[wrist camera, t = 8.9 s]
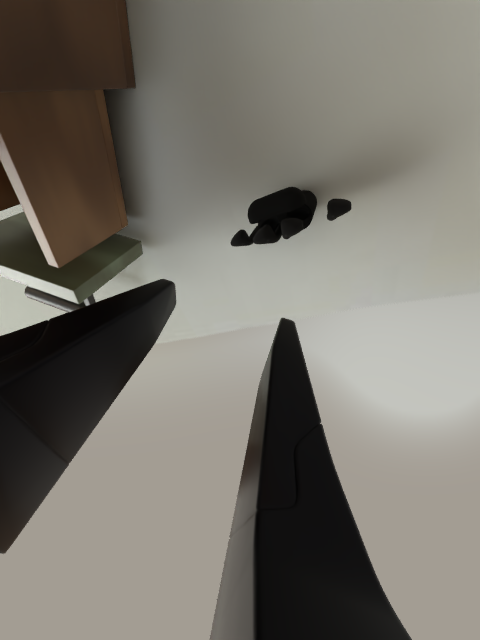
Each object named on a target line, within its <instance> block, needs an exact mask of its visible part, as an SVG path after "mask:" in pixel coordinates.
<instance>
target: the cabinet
mask: <svg viewBox="0 0 480 640" xmlns="http://www.w3.org/2000/svg"><path fill="white" fill-rule="evenodd" d="M129 88H135V78H134V70H133V61H132V53H131V44H130V36H129V27H128V19H127V10H126V2H125V0H0V92H31V91H65V90H98V89H129Z"/></svg>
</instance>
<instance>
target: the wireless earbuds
mask: <svg viewBox="0 0 480 640" xmlns="http://www.w3.org/2000/svg"><path fill="white" fill-rule="evenodd" d="M316 206H317V199H316V197H315V195H314V194H313V193H312V192H310V191H307V190H303V191H301V190H300V189H298V188H296V187H288V188H285V189H282V190H280V191H277V192H275V193H272V194H270V195H267V196H265V197H262V198H259V199H257V200H255V201H254V202H253V203H252V204H251V205H250V207H249V209H248V219H249V222H250V224H255V223H258V225H257V226H256V228H255V229H254V231H253V232H252V233H251V235H250V236H248V234H247V233H246V231H245V230H240V231H238V232H237V233H236V234H235V235H234V237H233V238H232V240H231V245H232V246H247V245H251V244H253V243H255V244H267V243H275V242H277V241H278V240H279V239H280V238H281V236H283V238H284V239H289V238H290V237H291V236H293V235H295V234H297V233H299V232H300V231H302V230H303V229H305V228H307V227H308V226H309V225H310V223H311V221H312V218H313V215H314V212H315V209H316ZM327 210H328V214H327V219H328V220H330V221H332V220H334V219H336V218H337V217H339V216H341V215H343V214H345V213H347V212H348V211H350V210H351V202H350V201H348V200H345V199H332V200H330V201H329V202H328V205H327Z"/></svg>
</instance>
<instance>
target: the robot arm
mask: <svg viewBox="0 0 480 640" xmlns="http://www.w3.org/2000/svg"><path fill="white" fill-rule="evenodd" d="M175 305H176V290H175V284H174V282H172V281H169V280H166V279H160V280H157V281H154V282H151V283H149V284H146V285H143V286H140V287H137V288H135V289H132V290H129V291H126V292H124V293H121V294H118V295H115V296H113V297H110V298H107V299H104V300H101V301H99V302H96V303H93V304H90V305H88V306H85V307H82V308H79V309H76V310H74V311H71V312H68V313H65V314H63V315H60V316H57V317H54V318H52V319H50V320H49V321H48V320H46V321H43V322H40V323H38V324H35V325H32V326H29V327H26V328H23V329H20V330H17V331H14V332H12V333H9V334H5V335H2V336H0V553H6V551H7V550H8V549H9V548H10V546H11V545H12V544H13V542H14V541H15V539H16V538H17V537H18V535H19V534H20V532H21V531H22V529H23V528H24V527H25V525H26V524H27V523H28V521H29V520H30V518H31V517H32V515H33V514H34V513H35V511H36V510H37V509H38V507H39V506H40V504H41V503H42V502H43V500H44V499H45V497H46V496H47V495H48V493H49V492H50V490H51V489H52V487H53V486H54V485H55V483H56V482H57V481H58V479H59V478H60V476H61V475H62V474H63V472H64V471H65V469H66V468H67V467H68V465H69V463H70V462H71V461H72V459H73V458H74V456H75V455H76V454H77V452H78V451H79V449H80V448H81V447H82V445H83V444H84V442H85V441H86V439H87V438H88V437H89V435H90V434H91V433H92V431H93V430H94V428H95V427H96V425H97V424H98V423H99V421H100V420H101V418H102V417H103V416H104V414H105V413H106V411H107V410H108V409H109V407H110V406H111V404H112V403H113V402H114V400H115V399H116V397H117V396H118V395H119V393H120V392H121V390H122V389H123V388H124V386H125V385H126V383H127V382H128V380H129V379H130V378H131V376H132V375H133V374H134V372H135V371H136V369H137V368H138V366H139V365H140V364H141V362H142V361H143V360H144V358H145V357H146V355H147V354H148V352H149V351H150V350H151V348H152V347H153V345H154V344H155V342H156V340H157V339H158V337H159V335H160V333H161V331H162V330H163V328H164V326H165V324H166V322H167V321H168V319H169V317H170V315H171V313H172V311H173V310H174V308H175ZM320 423H321V419H320V415H319V412H318V408H317V404H316V400H315V397H314V393H313V389H312V385H311V382H310V378H309V374H308V370H307V367H306V363H305V359H304V356H303V352H302V348H301V344H300V341H299V337H298V333H297V330H296V326H295V323H294V321H292V320H289V319H286V318H281V320H280V322H279V325H278V328H277V331H276V334H275V337H274V340H273V343H272V346H271V349H270V352H269V355H268V358H267V361H266V364H265V367H264V370H263V373H262V377H261V380H260V384H259V388H258V393H257V398H256V404H255V409H254V414H253V419H252V424H251V429H250V434H249V440H248V445H247V450H246V455H245V460H244V465H243V470H242V476H241V481H240V486H239V491H238V496H237V501H236V506H235V512H234V517H233V522H232V528H231V532H230V539H229V542H228V548H227V553H226V558H225V563H224V568H223V573H222V578H221V584H220V589H219V594H218V599H217V605H216V609H215V615H214V620H213V625H212V630H211V635H210V640H412V639H411V637H410V636H409V634H408V633H407V631H406V630H405V628H404V627H403V625H402V623H401V622H400V620H399V618H398V617H397V615H396V613H395V611H394V610H393V608H392V606H391V604H390V602H389V601H388V599H387V597H386V595H385V593H384V591H383V589H382V587H381V585H380V582H379V580H378V578H377V576H376V574H375V571H374V569H373V566H372V564H371V561H370V559H369V556H368V554H367V551H366V548H365V546H364V543H363V541H362V538H361V536H360V533H359V530H358V528H357V525H356V523H355V520H354V517H353V515H352V512H351V509H350V507H349V504H348V502H347V499H346V496H345V494H344V491H343V489H342V486H341V483H340V480H339V477H338V475H337V472H336V469H335V466H334V464H333V460H332V457H331V454H330V451H329V447H328V444H327V440H326V437H325V433H324V429H323V426H322V424H320Z"/></svg>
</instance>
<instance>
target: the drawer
mask: <svg viewBox="0 0 480 640" xmlns="http://www.w3.org/2000/svg"><path fill="white" fill-rule="evenodd" d="M19 204H21V206H22V208H23V210H24V212H22V213H19V214H17V215H14V216H11V217H9V218H6V219H4V220H1V221H0V276H2V277H4V278H7V279H10V280H13V281H16V282H18V283H21V284H24V285H27V287H26V289H25V295H26V296H27V297H28V298H31V299H33V300H36V301H39V302H42V303H44V304H47V305H50V306H52V307H55V308H58V309H61V310H63V311H66V312H71V311H74V310H76V309H79V308H82V307H85V306H88V305H90V304H93V303H96V302H95V299H94V296H93V293H94V292H95V291H97V290H98V289H99V288H100V287H102V286H103V285H104V284H105V283H107V282H108V281H109V280H111V279H112V278H113V277H114V276H116V275H117V274H118V273H119V272H121V271H122V270H123V269H124V268H126V267H127V266H128V265H129V264H131V263H132V262H133V261H134V260H136V259H137V258H138V257H139V256H141V255H142V254H143V252H142V245H141V241H138V240H135V239H132V238H128V237H125V236H122V235H119V234H115V233H117V232H118V231H120V230H121V229H122V228H124V227H126V226H127V225H128V221H127V216H126V210H125V205H124V199H123V194H122V189H121V183H120V178H119V172H118V167H117V161H116V156H115V151H114V145H113V140H112V134H111V129H110V123H109V118H108V113H107V107H106V102H105V96H104V91H103V89H98V90H65V91H31V92H0V211H2V210H5V209H8V208H10V207H13V206H16V205H19Z"/></svg>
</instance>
